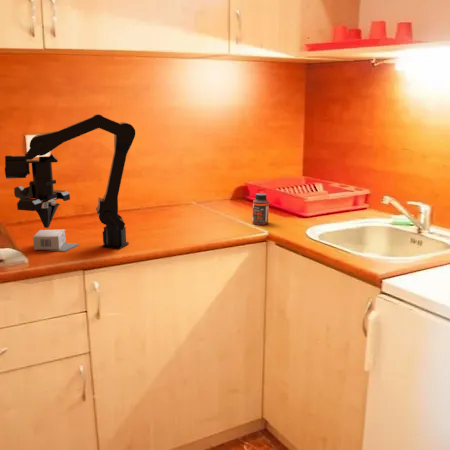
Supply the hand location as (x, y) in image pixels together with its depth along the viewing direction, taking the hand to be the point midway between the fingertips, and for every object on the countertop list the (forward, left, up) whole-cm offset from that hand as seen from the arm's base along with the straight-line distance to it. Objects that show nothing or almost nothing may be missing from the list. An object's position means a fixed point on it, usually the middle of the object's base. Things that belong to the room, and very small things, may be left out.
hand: (46, 227), depth 166 cm
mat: (-1, -5, -8) cm, 9 cm away
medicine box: (0, +1, -5) cm, 5 cm away
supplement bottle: (-54, -56, -8) cm, 78 cm away
